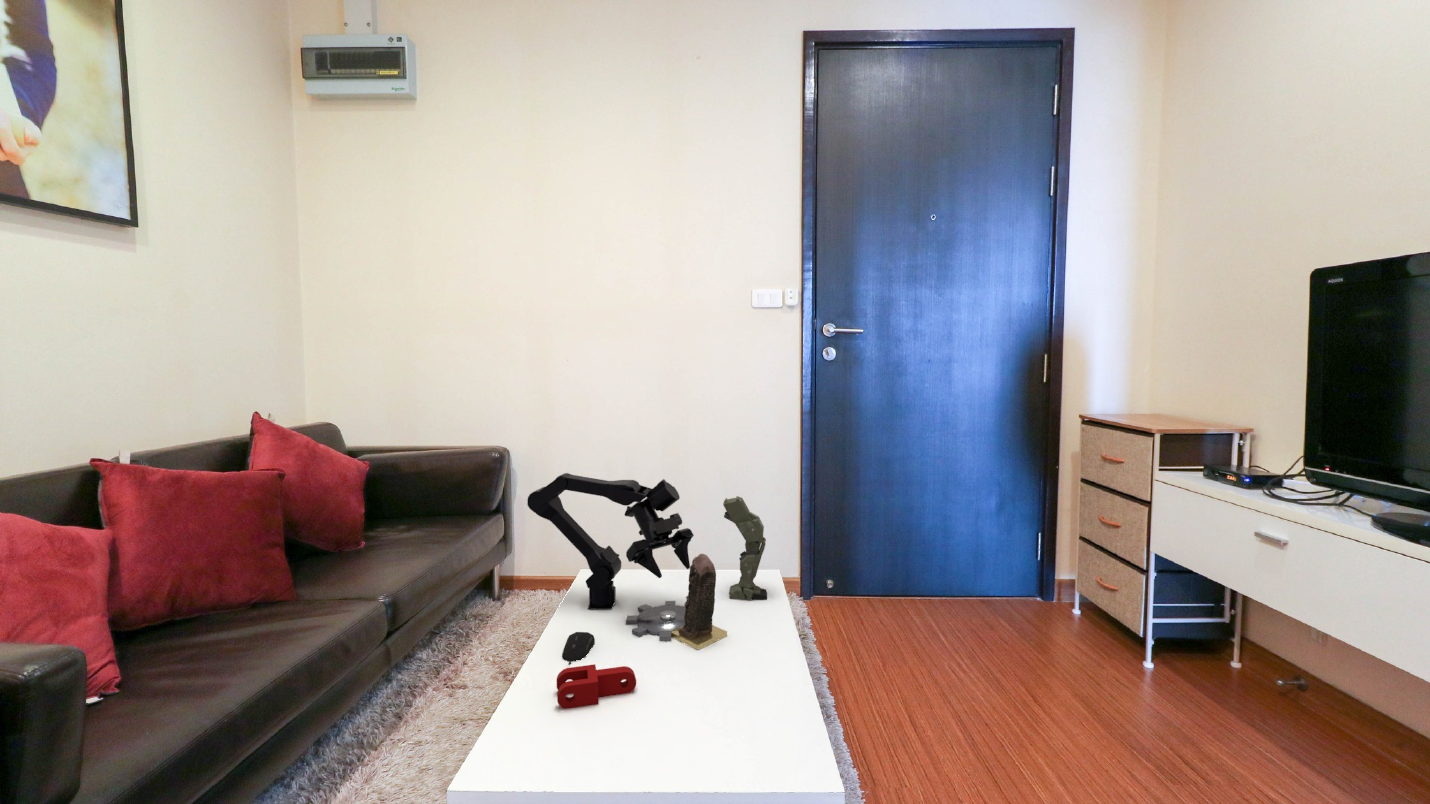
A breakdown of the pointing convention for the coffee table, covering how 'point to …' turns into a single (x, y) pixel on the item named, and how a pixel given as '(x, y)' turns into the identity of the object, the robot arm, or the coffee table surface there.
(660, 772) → the coffee table surface
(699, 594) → the statue
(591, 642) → the gaming mouse
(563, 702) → the mechanical linkage
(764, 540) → the mechanical leg
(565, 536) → the robot arm
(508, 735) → the coffee table surface
